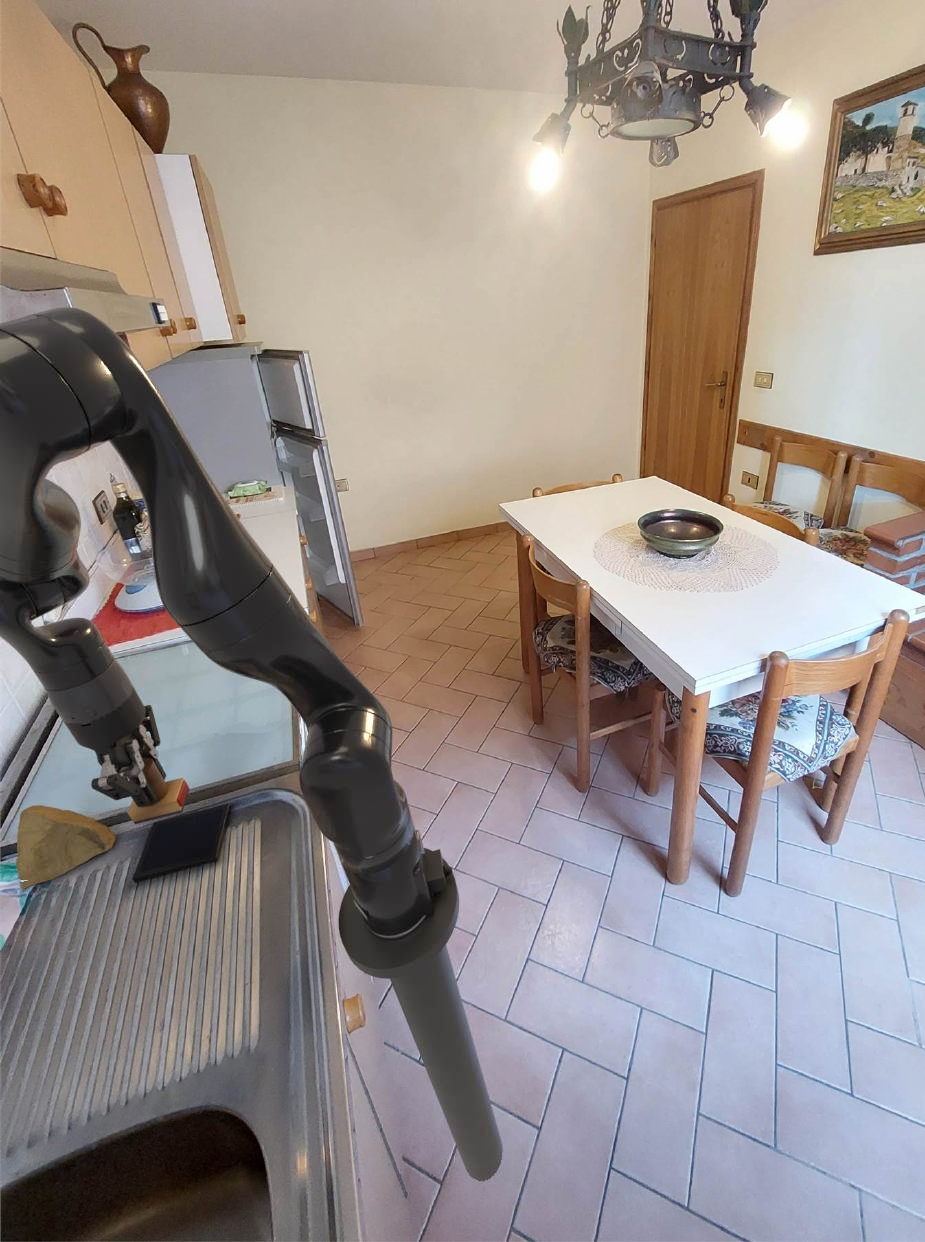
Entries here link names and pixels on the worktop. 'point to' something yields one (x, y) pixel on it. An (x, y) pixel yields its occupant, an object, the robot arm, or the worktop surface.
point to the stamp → (159, 795)
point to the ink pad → (183, 843)
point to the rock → (56, 842)
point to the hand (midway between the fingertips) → (153, 791)
